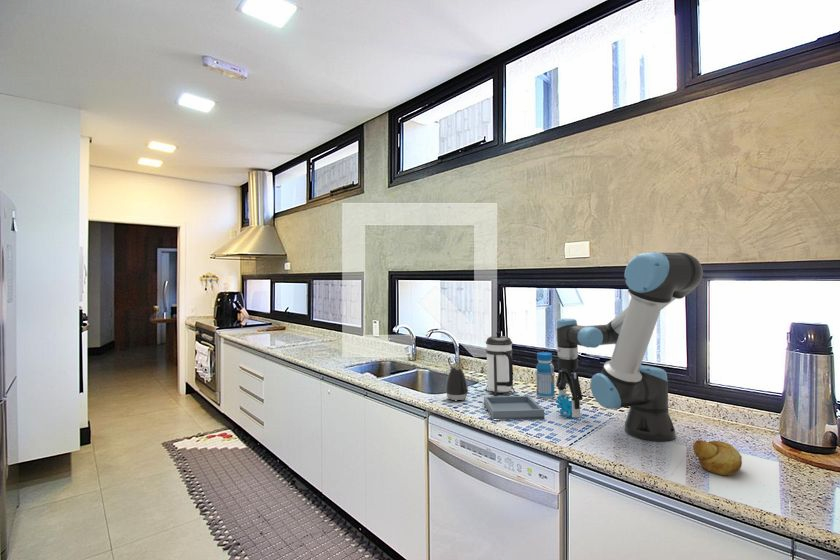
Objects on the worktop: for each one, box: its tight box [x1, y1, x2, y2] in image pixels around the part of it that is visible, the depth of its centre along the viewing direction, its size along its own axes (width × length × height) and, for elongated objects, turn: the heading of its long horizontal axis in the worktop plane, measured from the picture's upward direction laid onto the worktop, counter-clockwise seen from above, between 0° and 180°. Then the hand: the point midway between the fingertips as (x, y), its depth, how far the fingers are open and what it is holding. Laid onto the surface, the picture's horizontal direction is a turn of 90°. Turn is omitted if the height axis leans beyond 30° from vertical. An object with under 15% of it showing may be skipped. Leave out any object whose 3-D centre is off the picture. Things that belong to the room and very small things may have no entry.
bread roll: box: [692, 439, 743, 476], centre depth 109 cm, size 13×10×8 cm
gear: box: [555, 395, 576, 419], centre depth 157 cm, size 11×6×10 cm
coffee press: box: [484, 330, 516, 397], centre depth 190 cm, size 17×16×30 cm
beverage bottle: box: [535, 351, 556, 399], centre depth 183 cm, size 8×8×20 cm
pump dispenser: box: [445, 366, 469, 401], centre depth 181 cm, size 10×10×15 cm
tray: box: [483, 395, 545, 420], centre depth 162 cm, size 20×20×4 cm
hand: (569, 411), depth 155 cm, fingers open, 13 cm apart
